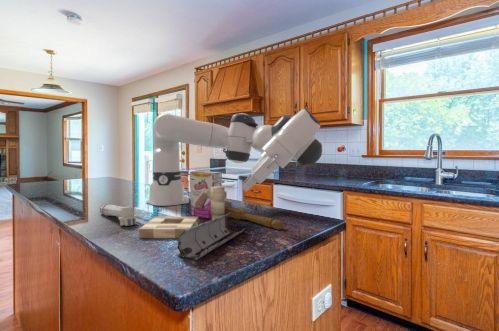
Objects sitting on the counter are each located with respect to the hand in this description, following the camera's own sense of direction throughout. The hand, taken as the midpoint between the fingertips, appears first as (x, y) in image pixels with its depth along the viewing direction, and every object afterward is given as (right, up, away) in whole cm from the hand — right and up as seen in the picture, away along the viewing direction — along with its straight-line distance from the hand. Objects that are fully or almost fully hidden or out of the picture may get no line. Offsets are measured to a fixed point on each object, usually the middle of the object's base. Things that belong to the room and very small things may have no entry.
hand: (244, 187), depth 93 cm
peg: (-8, -13, +1) cm, 15 cm away
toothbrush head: (-44, -13, +14) cm, 48 cm away
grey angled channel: (-7, -15, -12) cm, 20 cm away
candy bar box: (-14, -12, +17) cm, 25 cm away
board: (-22, -13, 0) cm, 26 cm away
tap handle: (+1, -13, +13) cm, 18 cm away
